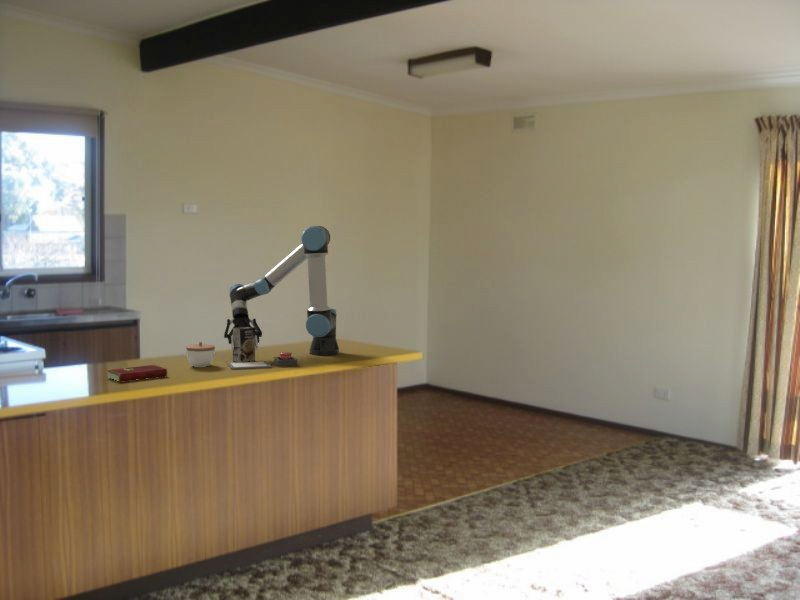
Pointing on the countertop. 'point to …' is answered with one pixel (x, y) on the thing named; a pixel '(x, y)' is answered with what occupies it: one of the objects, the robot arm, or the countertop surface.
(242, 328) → the coffee box
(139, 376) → the hardcover book
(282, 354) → the button
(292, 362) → the button housing
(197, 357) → the lidded bowl
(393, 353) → the countertop surface
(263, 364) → the board
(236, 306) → the robot arm
